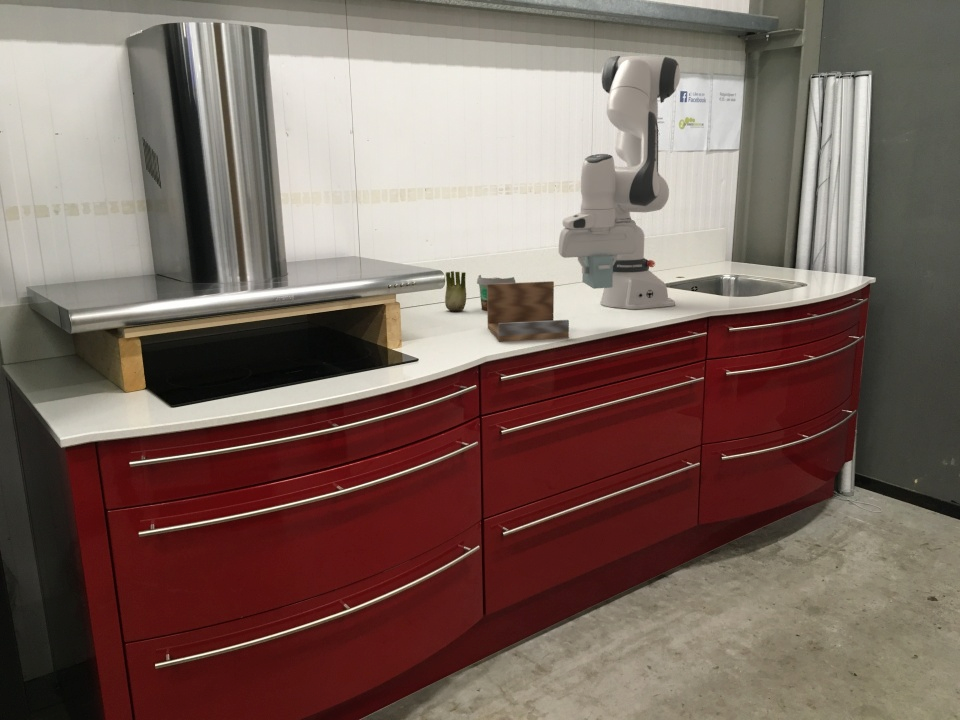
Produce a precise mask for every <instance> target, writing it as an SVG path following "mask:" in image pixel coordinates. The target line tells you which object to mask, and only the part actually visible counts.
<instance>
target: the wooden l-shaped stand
mask: <svg viewBox="0 0 960 720" xmlns="http://www.w3.org/2000/svg"><path fill="white" fill-rule="evenodd" d="M554 289H555V282H554V281H530V282H516V283H500V284H487V311H486V312H487V330H488V331H489V332H490V333H491V334H492V335H493V336H494V337H495V338H496V340H497V341H498V342H499V343H500V342H515V341H534V340H554V339H569V336H570V333H569V332H570V321H569V319H557V320H556V319H555V320H554V303H555V301H554V298H555V297H554V295H555V293H554V292H555V291H554Z"/></svg>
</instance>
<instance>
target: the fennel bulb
mask: <svg viewBox="0 0 960 720" xmlns="http://www.w3.org/2000/svg"><path fill="white" fill-rule="evenodd" d="M460 275H461V277H460ZM466 275H467V274H466V272H465V271H462V272H461V274H460V271H454V270H452V271H448V272H447V271H446V272H445V279H446V288H445V295H444V296H445V297H444V300H445V301H444V302H445V307H446V309H447V310H448V311H451V312H461V311H464V309H465V306H466V304H467V288H466Z"/></svg>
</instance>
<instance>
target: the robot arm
mask: <svg viewBox="0 0 960 720" xmlns="http://www.w3.org/2000/svg"><path fill="white" fill-rule="evenodd" d="M679 66H680V65H679V62H678V61H677V59H675V58H672V57H667V56H665V57H660V56H654V55H644V54H642V55H630V56H620V55H616V56H612V57H609V58H608V59H606V61H604V63H603V66H602V70H601V74H600V81H601V85H602V89H603V90H604V92H606V93H607V94H608V98H607V101H606V116H607V118H608V120H609V121H610V123H611V124H612V125H613V126H614V127H615V128H617V132H616V133H617V134H616V140H615V141H616V142H615V148H614V149H615V153H616V155H617V156H618V157H619V159H621V160H622V161H623V162H625V163H626V166H615V158H614V156H613V155H611V154H607V153H597V154H591V155H587V157H585V158H584V159H583V162H582V166H581V167H582V168H581V175H580V193H581V203H580V211H579V212H578V213H576V214H573V215H570V216H568V217H565V218H564V219H563V220H562V225H563V227H564V228H562V230H561V231H560V234H559V238H558V254H559V255H560V256H561V257H562V258H564V259H565V258H566V259H567V258H568V259H569V258H577V261H578V263H579V265H580V267H581V274H582V275H583V274H589V267H588V266H585V264H584V262H583V261H585V257H587V256H596V255H610V256H613V283H612V288H603V292H602V296H601V298H600V299H601V300H600V305H602V306H605V307H611V308H618V309H619V308H620V309H627V310H628V309H629V310H642V309H652V308H662V307H665V308H666V307H672V306H673V307H674V306H676V302H675V300H674V299H673V298H671V297H669V296H668V295H669V294H668V293H669V292H668V288H667V285H666V283H665V282H664V281H662V280H661V279H660V278H659V277H658V276H657V275H655V274H654V273H653V272H652V271H651V270H649V269H650V268H654V267H655V265H656V262H655V260H651V259H649V260H648V259H647V258H645V253H644V252H645V232H644V230H643V229H642V228H641V227H640V226H639V225H637V223H636V221H635V220H633V219H632V218H631V214H630V213H649V212H657V211H660V210H663V208H664V207H665V206H666V204H667V202H668V200H669V195H670V188H669V185H668V183H667V181H666V180H665V178H664V177H662V175H661V174H660V173H659V127H658V126H659V125H658V117H659V116H658V115H659V114H658V113H659V110H658V109H659V104H658V103H659V101H658V100H660V104H662V103H664V101H665V100H666V99H668V98H670V97H671V96H672V95H674V93H675V92H676V90H677V88H678V86H679V83H680V80H681V70H680V67H679Z"/></svg>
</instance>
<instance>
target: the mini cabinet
mask: <svg viewBox="0 0 960 720" xmlns="http://www.w3.org/2000/svg"><path fill="white" fill-rule="evenodd" d="M583 262H584V264H585V266H588V267H589V274H583V273H582V283H583V284H585V285H587V286H589V287H590V288H592V289H604V288H612V283H613V256H610V255H596V256H587V257H585V261H583Z"/></svg>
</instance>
